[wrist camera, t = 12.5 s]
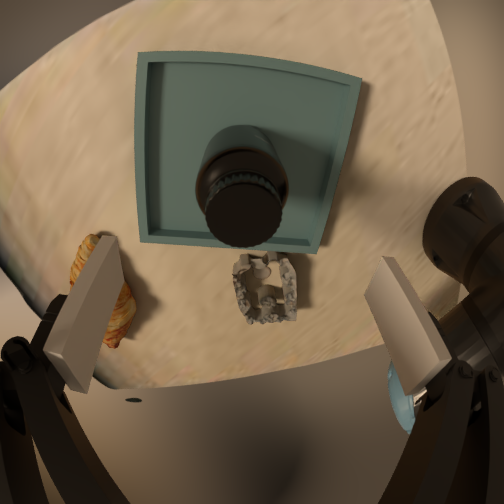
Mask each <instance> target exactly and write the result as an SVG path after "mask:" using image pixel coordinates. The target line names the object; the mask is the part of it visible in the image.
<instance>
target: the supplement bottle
mask: <svg viewBox="0 0 504 504" xmlns="http://www.w3.org/2000/svg"><path fill="white" fill-rule="evenodd" d="M288 195H289V182H288V178H287V174H286V172H285V169H284V167H283V165H282V163H281V161H280V158H279V156H278V154H277V152H276V150H275V148H274V146H273V144H272V142H271V141H270V139H269V138H268V137H267V136H266V135H265V134H264V133H263V132H262V131H260V130H258V129H257V128H254V127H252V126H248V125H233V126H229V127H226V128H224V129H222V130H220V131H219V132H218V133H216V134H215V135H214V136H213V137H212V139H211V140H210V141H209V143H208V145H207V147H206V150H205V152H204V155H203V159H202V162H201V165H200V168H199V171H198V174H197V178H196V184H195V196H196V200H197V203H198V206H199V208H200V210H201V211H202V213H203V214H204V216H205V220H206V222H207V227H208V228H209V230H210V232H211V233H212V234H213V235H214V237H215V238H217V239H218V240H219V241H220V242H223V243H224V244H225V245H230V246H231V247H237V248H242V247H243V248H248V247H254V246H256V245H261V244H262V243H263V242H266V241H267V240H268V239H270V238H272V236H273V234H275V233H276V232H277V229H278V228H279V227H280V222H281V221H282V214H283V211H282V210H283V209H284V207H285V205H286V202H287V199H288Z"/></svg>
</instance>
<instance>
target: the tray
mask: <svg viewBox="0 0 504 504" xmlns="http://www.w3.org/2000/svg"><path fill="white" fill-rule="evenodd" d="M361 82H362V78H359V77H356V76H352V75H349V74H345V73H341V72H338V71H334V70H330V69H326V68H321V67H317V66H313V65H308V64H303V63H298V62H293V61H287V60H282V59H275V58H269V57H262V56H254V55H245V54H235V53H223V52H205V51H154V52H138V58H137V71H136V88H135V117H134V151H135V181H136V199H137V213H138V225H139V235H140V242H143V243H158V244H173V245H188V246H204V247H219V248H233V249H248V250H263V251H278V252H293V253H307V254H317V251H318V248H319V245H320V242H321V238H322V235H323V232H324V228H325V225H326V222H327V218H328V215H329V211H330V208H331V205H332V201H333V197H334V194H335V190H336V187H337V183H338V179H339V175H340V172H341V168H342V164H343V160H344V156H345V152H346V148H347V144H348V140H349V136H350V132H351V128H352V123H353V119H354V115H355V110H356V106H357V101H358V96H359V91H360V87H361ZM233 125H248V126H252V127H254V128H257V129H258V130H260V131H262V132H263V133H264V134H265V135H266V136H267V137H268V138H269V139H270V141H271V142H272V144H273V146H274V148H275V150H276V152H277V154H278V156H279V158H280V161H281V163H282V165H283V167H284V169H285V172H286V174H287V178H288V182H289V195H288V199H287V202H286V205H285V207H284V209H283V210H282V211H283V214H282V221H281V222H280V227H279V228H278V229H277V232H276V233H275V234H273V236H272V238H270V239H268V240H267V241H266V242H263V243H262V244H261V245H256V246H254V247H248V248H243V247H242V248H237V247H231V246H230V245H225V244H224V243H223V242H220V241H219V240H218V239H217V238H215V237H214V235H213V234H212V233H211V232H210V230H209V228H208V227H207V222H206V220H205V216H204V214H203V213H202V211H201V210H200V208H199V206H198V203H197V200H196V196H195V184H196V178H197V174H198V171H199V168H200V165H201V162H202V159H203V155H204V152H205V150H206V147H207V145H208V143H209V141H210V140H211V139H212V137H213V136H214V135H215V134H216V133H218V132H219V131H220V130H222V129H224V128H226V127H229V126H233Z"/></svg>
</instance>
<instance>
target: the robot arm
mask: <svg viewBox="0 0 504 504" xmlns="http://www.w3.org/2000/svg"><path fill="white" fill-rule="evenodd" d="M423 248H424V251H425V253H426V255H427V256H428V258H429V259H430V260H431V262H432V263H433V264H434V265H435V266H436V267H437V268H438V269H439V270H441V271H443V272H444V273H446V274H447V275H449V276H451V277H452V278H454V279H455V280H457V281H459V282H460V283H462V284H463V285H464V286H465V288H466V289H467V291H468V292H469V293H470V294H469V295H468V296H467V297H466V298H465V299H463V301H461V302H460V303H459V304H458V305H456V306H455V307H454V308H453V309H452V310H451V311H450V312H448V313H447V314H446V315H445V316H444V317H442V318H441V319H440V320H439V321H438V320H437V319H436V318H435V317H434V316H433V315H432V314H431V313H430V312H427V310H426V309H425V307H424V305H423V304H422V302H421V300H420V298H419V297H418V295H417V293H416V292H415V290H414V289H413V287H412V285H411V284H410V282H409V280H408V279H407V277H406V276H405V274H404V272H403V271H402V269H401V268H400V266H399V265H398V263H397V262H396V260H395V259H394V257H384V256H382V258H381V260H380V262H379V264H378V267H377V269H376V271H375V273H374V275H373V277H372V280H371V282H370V284H369V286H368V288H367V290H366V292H365V294H364V296H365V298H366V300H367V303H368V305H369V307H370V309H371V312H372V314H373V316H374V318H375V321H376V323H377V325H378V328H379V330H380V332H381V335H382V337H383V340H384V342H385V344H386V347H387V349H388V352H389V354H390V357H391V362H390V365H389V369H388V388H389V394H390V399H391V403H392V406H393V409H394V412H395V414H396V417H397V419H398V421H399V423H400V425H401V426H402V427H403V429H404V430H406V431H407V433H409V434H410V436H409V438H408V441H407V443H406V446H405V448H404V451H403V453H402V455H401V458H400V460H399V462H398V465H397V467H396V469H395V471H394V473H393V475H392V477H391V479H390V481H389V483H388V485H387V487H386V489H385V491H384V493H383V495H382V497H381V499H380V501H379V502H378V504H504V385H503V382H502V378H503V377H504V203H503V201H502V200H501V198H500V196H499V195H498V193H497V192H496V190H495V189H494V188H493V187H492V186H490V185H489V184H488V183H486V182H485V181H484V180H482V179H480V178H477V177H467V178H463V179H461V180H459V181H457V182H455V183H454V184H452V185H451V186H450V187H448V188H447V189H446V190H445V191H444V192H443V193H442V194H441V196H440V197H439V198H438V199H437V201H436V202H435V204H434V205H433V207H432V209H431V211H430V213H429V215H428V217H427V220H426V223H425V226H424V230H423ZM123 283H124V276H123V270H122V265H121V259H120V253H119V247H118V241H117V236H106V235H102V237H101V238H100V240H99V242H98V243H97V245H96V247H95V248H94V250H93V252H92V253H91V255H90V257H89V258H88V260H87V262H86V264H85V265H84V267H83V269H82V271H81V272H80V274H79V276H78V278H77V280H76V281H75V283H74V285H73V287H72V289H71V291H70V293H69V295H62V294H59V295H58V296H57V297H56V298H55V299H53V300H52V301H51V303H50V305H49V306H48V308H47V310H46V314H44V316H43V318H42V321H41V322H40V324H39V327H38V328H37V330H36V333H35V335H34V337H33V339H32V341H31V343H30V344H29V342H28V340H26V339H25V338H24V337H19V336H16V337H13V338H11V339H9V340H8V341H7V342H6V343H5V344H4V345H3V347H2V350H1V359H2V360H3V361H0V504H49V502H48V499H47V496H46V493H45V490H44V486H43V483H42V479H41V476H40V472H39V468H38V464H37V460H36V455H35V450H34V446H33V440H34V442H35V444H36V447H37V449H38V451H39V454H40V456H41V458H42V460H43V462H44V464H45V466H46V469H47V471H48V472H49V475H50V477H51V479H52V480H53V482H54V484H55V486H56V488H57V490H58V491H59V493H60V495H61V497H62V498H63V500H64V502H65V503H66V504H130V502H129V501H128V500H127V498H126V497H125V496H124V495H123V493H122V492H121V490H120V489H119V488H118V486H117V485H116V483H115V482H114V480H113V479H112V478H111V476H110V475H109V473H108V472H107V470H106V469H105V467H104V465H103V464H102V462H101V461H100V459H99V457H98V456H97V454H96V452H95V451H94V449H93V447H92V445H91V444H90V442H89V440H88V438H87V437H86V435H85V433H84V431H83V429H82V427H81V425H80V423H79V421H78V419H77V417H76V415H75V413H74V411H73V409H72V407H71V405H70V403H69V401H68V398H67V396H66V394H65V392H64V391H63V390H64V386H65V383H66V384H67V385H68V387H69V388H70V389H71V390H73V391H77V392H81V393H85V394H87V393H88V389H89V385H90V381H91V378H92V375H93V371H94V368H95V364H96V361H97V358H98V354H99V351H100V348H101V345H102V342H103V339H104V336H105V333H106V330H107V327H108V324H109V321H110V318H111V315H112V312H113V310H114V307H115V304H116V302H117V299H118V296H119V294H120V291H121V288H122V286H123ZM32 437H33V440H32Z"/></svg>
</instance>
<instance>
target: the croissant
mask: <svg viewBox="0 0 504 504" xmlns="http://www.w3.org/2000/svg"><path fill="white" fill-rule="evenodd" d="M99 240H100V238H98V237H97V236H96V235H94V234H90V235H88V236H87V237H86V238H85V240H84V241H83V242H82V244H81V245H80V246H79V249H78V252H77V255H76V259H75V261H74V262H73V264H72V267H71V273H70V280H71V281H70V284H71V288H70V291H71V289H72V287H73V285H74V283H75V281H76V280H77V278H78V276H79V274H80V272H81V271H82V269H83V267H84V265H85V264H86V262H87V260H88V258H89V257H90V255H91V253H92V252H93V250H94V248H95V247H96V245H97V243H98V242H99ZM135 313H136V301H135V299H134V298H133V297H132V295H131V290H130V288H129V286H128V284H127V283H126V282H125V281H124V283H123V286H122V288H121V291H120V294H119V296H118V299H117V302H116V304H115V307H114V310H113V312H112V315H111V318H110V321H109V324H108V327H107V330H106V333H105V336H104V339H103V343H105V344H107V345H108V347H109V348H114V349H115V348H117V347H118V346H119V343H120V340H121V339H122V338H123V337H124V336H125V335H126V333H127V329H128V328H129V326H130V325H131V322H132V318H133V316H134V315H135Z"/></svg>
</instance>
